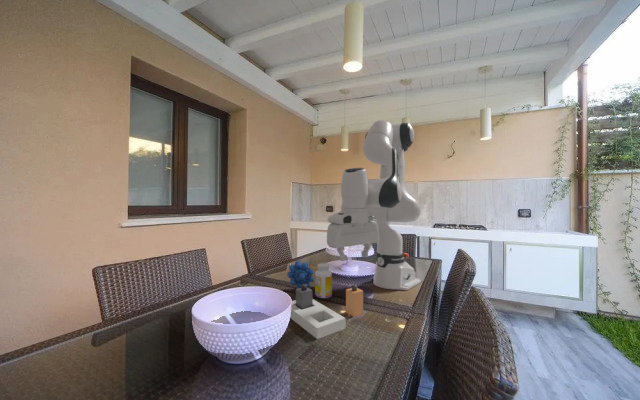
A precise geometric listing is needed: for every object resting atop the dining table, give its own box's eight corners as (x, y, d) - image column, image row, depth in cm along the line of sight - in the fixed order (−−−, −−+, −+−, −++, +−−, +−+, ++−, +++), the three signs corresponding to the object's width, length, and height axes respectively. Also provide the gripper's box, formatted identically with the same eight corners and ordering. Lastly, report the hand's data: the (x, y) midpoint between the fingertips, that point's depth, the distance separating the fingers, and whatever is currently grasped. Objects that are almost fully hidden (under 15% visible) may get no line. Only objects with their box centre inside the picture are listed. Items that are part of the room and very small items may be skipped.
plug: (354, 310, 89) (354, 282, 89) (363, 314, 86) (363, 286, 86) (345, 313, 87) (345, 285, 87) (354, 318, 83) (354, 288, 83)
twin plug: (306, 310, 88) (306, 282, 88) (312, 314, 85) (312, 285, 85) (295, 313, 86) (295, 284, 86) (302, 317, 83) (301, 288, 83)
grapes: (288, 293, 106) (288, 264, 106) (286, 288, 112) (286, 260, 112) (316, 291, 109) (316, 262, 108) (312, 285, 115) (312, 258, 115)
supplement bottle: (332, 294, 105) (332, 262, 105) (331, 300, 99) (331, 267, 99) (315, 293, 106) (315, 262, 106) (313, 300, 99) (313, 266, 99)
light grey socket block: (308, 307, 93) (308, 296, 92) (345, 331, 76) (345, 318, 76) (283, 315, 87) (283, 303, 87) (317, 342, 70) (317, 328, 70)
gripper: (369, 215, 94) (369, 253, 94) (324, 217, 83) (323, 261, 83) (383, 216, 89) (383, 256, 89) (336, 218, 77) (336, 265, 78)
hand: (354, 258), depth 86 cm, fingers open, 8 cm apart
